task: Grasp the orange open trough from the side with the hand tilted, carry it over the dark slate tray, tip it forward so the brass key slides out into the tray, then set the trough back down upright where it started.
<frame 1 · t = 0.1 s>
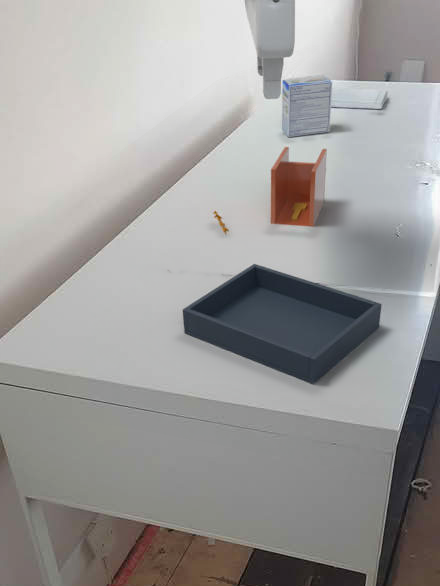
hand: (268, 85, 79), 21 cm above the table, tool pointing down, fingers open, 8 cm apart
key: (297, 212, 102), point 1 cm above the table, touching orange open trough
orange open trough: (297, 216, 103), on the table, touching key
medicine box: (305, 133, 131), on the table
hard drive: (352, 103, 143), on the table
keychain: (221, 227, 101), on the table
tray: (281, 330, 80), on the table
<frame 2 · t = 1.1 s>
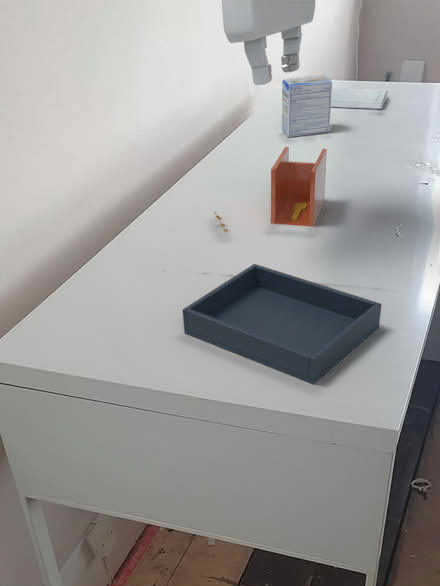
hand: (277, 77, 85), 20 cm above the table, tool pointing down, fingers open, 8 cm apart
nothing on the table moved.
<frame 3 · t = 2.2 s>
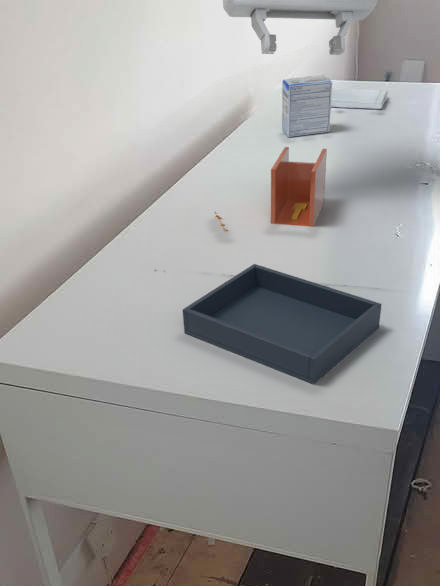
hand: (303, 52, 93), 20 cm above the table, tool tilted 30°, fingers open, 8 cm apart
nothing on the table moved.
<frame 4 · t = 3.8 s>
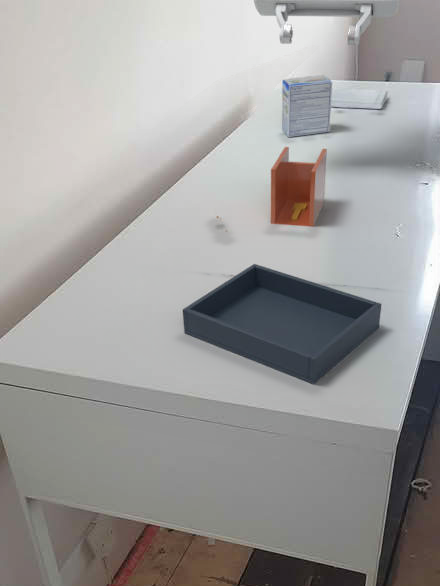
hand: (318, 41, 99), 20 cm above the table, tool tilted 45°, fingers open, 8 cm apart
nothing on the table moved.
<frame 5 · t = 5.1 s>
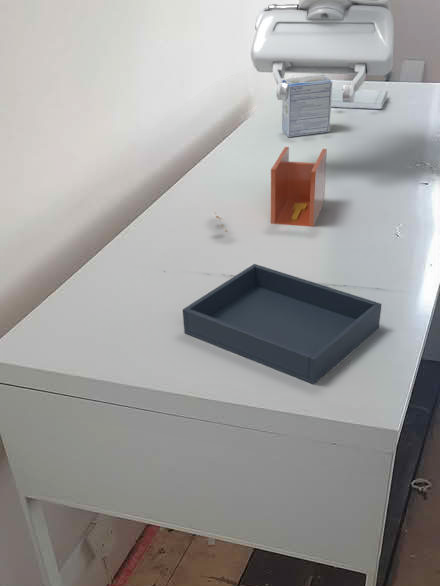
hand: (314, 99, 102), 13 cm above the table, tool tilted 45°, fingers open, 8 cm apart
nothing on the table moved.
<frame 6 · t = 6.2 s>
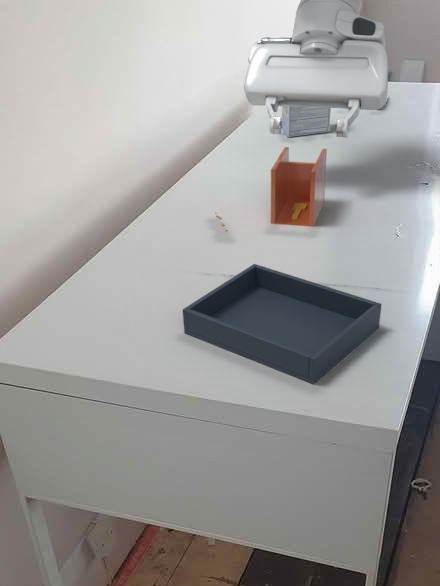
hand: (307, 133, 101), 9 cm above the table, tool tilted 45°, fingers open, 8 cm apart
nothing on the table moved.
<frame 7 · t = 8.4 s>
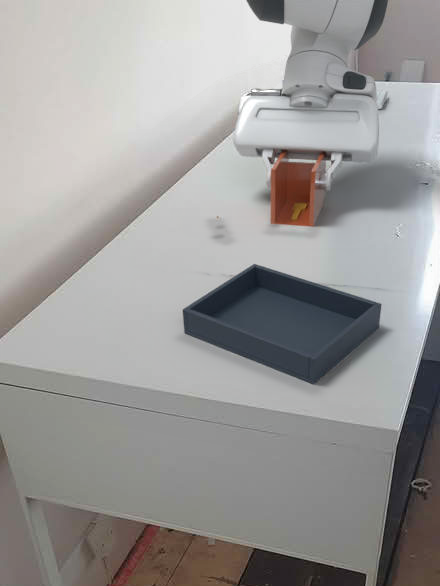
hand: (298, 187, 100), 4 cm above the table, tool tilted 45°, fingers closed on orange open trough, 6 cm apart
orange open trough: (297, 216, 103), on the table, touching gripper, key
everything else where it was.
when the fingers open (4 cm above the table, at t = 26.4 s): orange open trough stays where it is, on the table.
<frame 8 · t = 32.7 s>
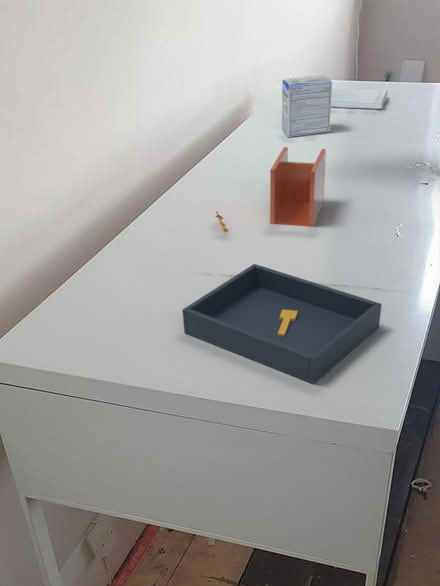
key: (285, 324, 80), resting on tray
orange open trough: (297, 216, 103), on the table
everything else where it was.
at the end: key inside the target area in the tray (0.7 cm from its centre), point 0.5 cm above the tray's base; orange open trough tilted 0° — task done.
